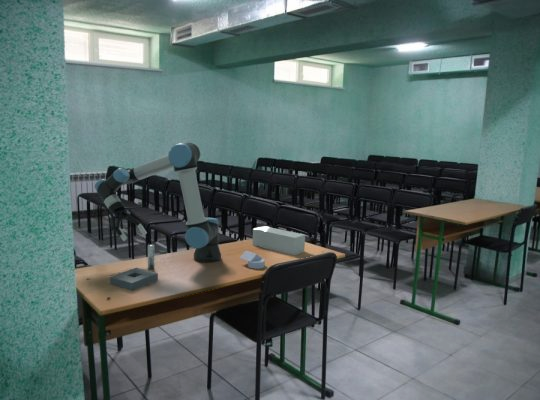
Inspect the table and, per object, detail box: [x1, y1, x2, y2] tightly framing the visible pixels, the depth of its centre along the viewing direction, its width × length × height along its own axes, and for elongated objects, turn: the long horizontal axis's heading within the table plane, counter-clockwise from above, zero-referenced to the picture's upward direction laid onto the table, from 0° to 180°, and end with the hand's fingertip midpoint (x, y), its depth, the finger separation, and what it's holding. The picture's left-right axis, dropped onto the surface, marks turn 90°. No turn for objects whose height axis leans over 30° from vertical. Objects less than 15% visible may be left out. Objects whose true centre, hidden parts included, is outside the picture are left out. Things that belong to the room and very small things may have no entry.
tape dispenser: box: [239, 250, 266, 270], centre depth 232 cm, size 9×7×13 cm
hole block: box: [109, 267, 159, 291], centre depth 201 cm, size 16×14×4 cm
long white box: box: [251, 225, 306, 256], centre depth 266 cm, size 32×11×11 cm, turn 53°
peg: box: [147, 244, 155, 270], centre depth 220 cm, size 3×3×12 cm
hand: (135, 237), depth 224 cm, fingers open, 13 cm apart
